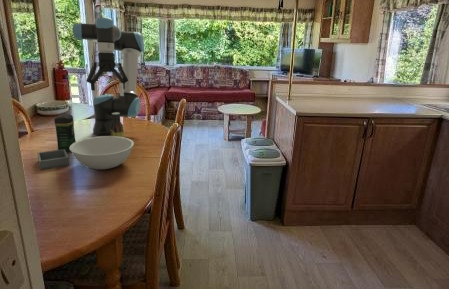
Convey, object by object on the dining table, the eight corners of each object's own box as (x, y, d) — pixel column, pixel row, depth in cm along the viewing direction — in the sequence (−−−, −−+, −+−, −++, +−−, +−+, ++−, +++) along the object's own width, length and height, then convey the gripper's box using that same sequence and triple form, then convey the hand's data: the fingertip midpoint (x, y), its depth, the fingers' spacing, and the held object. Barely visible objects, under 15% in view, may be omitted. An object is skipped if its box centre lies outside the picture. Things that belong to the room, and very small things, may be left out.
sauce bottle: (114, 147, 168) (111, 111, 162) (125, 147, 169) (123, 111, 162) (110, 151, 162) (107, 114, 156) (123, 151, 163) (120, 114, 156)
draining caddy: (65, 156, 153) (64, 149, 152) (69, 165, 143) (68, 157, 142) (38, 160, 147) (37, 152, 146) (40, 170, 137) (39, 161, 136)
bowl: (74, 157, 152) (71, 138, 149) (132, 152, 162) (131, 134, 159) (69, 180, 128) (66, 158, 125) (137, 173, 138) (136, 152, 135)
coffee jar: (73, 152, 158) (68, 116, 153) (56, 153, 157) (51, 117, 151) (78, 146, 167) (74, 112, 162) (62, 147, 166) (57, 112, 160)
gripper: (82, 51, 139) (86, 98, 145) (133, 53, 156) (135, 96, 162) (76, 51, 144) (80, 97, 150) (126, 53, 161) (128, 94, 167)
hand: (109, 96), depth 156 cm, fingers open, 13 cm apart
